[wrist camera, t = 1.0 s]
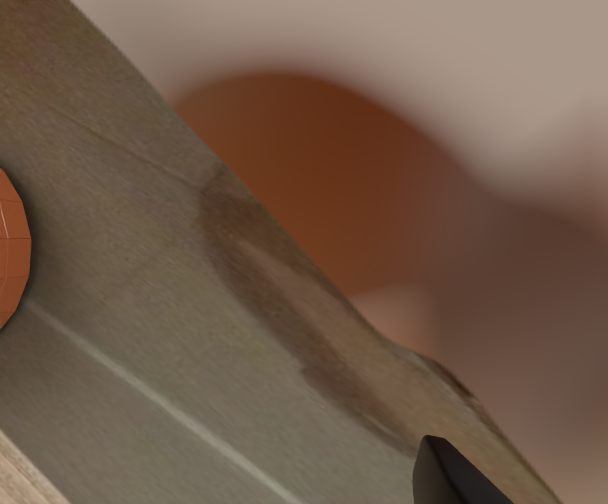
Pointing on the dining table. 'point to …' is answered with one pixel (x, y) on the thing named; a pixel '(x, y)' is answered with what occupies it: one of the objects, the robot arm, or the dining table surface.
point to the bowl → (12, 249)
